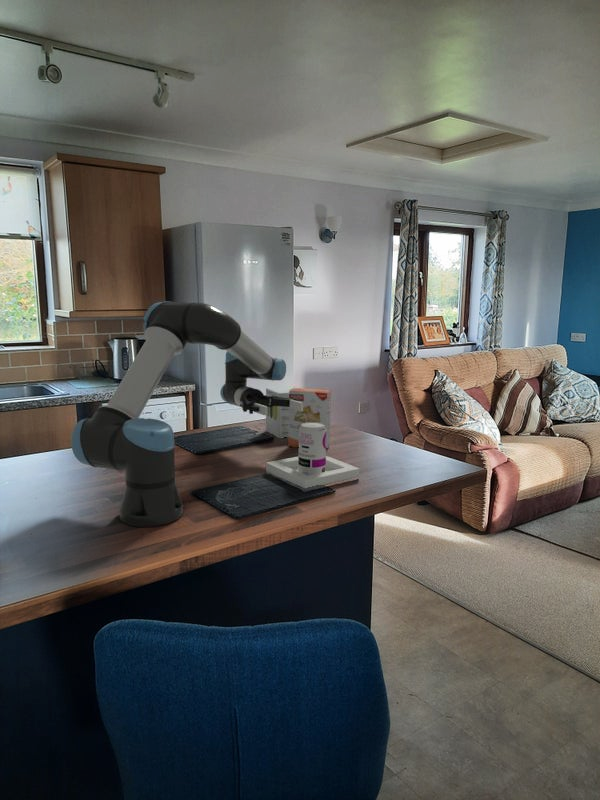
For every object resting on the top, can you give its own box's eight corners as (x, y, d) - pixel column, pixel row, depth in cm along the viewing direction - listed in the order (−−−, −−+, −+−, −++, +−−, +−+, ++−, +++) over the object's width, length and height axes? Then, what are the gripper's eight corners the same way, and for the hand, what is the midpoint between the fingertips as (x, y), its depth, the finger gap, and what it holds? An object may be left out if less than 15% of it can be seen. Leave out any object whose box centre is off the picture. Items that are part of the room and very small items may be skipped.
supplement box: (264, 431, 226) (265, 387, 223) (294, 427, 232) (295, 385, 229) (279, 438, 214) (279, 393, 211) (309, 435, 220) (310, 390, 217)
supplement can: (326, 469, 175) (327, 422, 172) (324, 478, 167) (325, 428, 164) (299, 468, 175) (300, 421, 173) (297, 477, 167) (297, 427, 164)
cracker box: (287, 447, 203) (288, 389, 199) (292, 443, 208) (293, 387, 204) (325, 451, 199) (327, 392, 195) (329, 446, 204) (331, 389, 200)
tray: (304, 492, 157) (305, 480, 157) (266, 473, 173) (266, 462, 173) (359, 479, 169) (359, 468, 168) (317, 462, 185) (318, 452, 184)
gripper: (280, 406, 202) (316, 416, 185) (216, 412, 188) (249, 425, 171) (280, 385, 201) (316, 394, 184) (216, 390, 186) (249, 400, 169)
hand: (284, 408), depth 177 cm, fingers open, 13 cm apart
